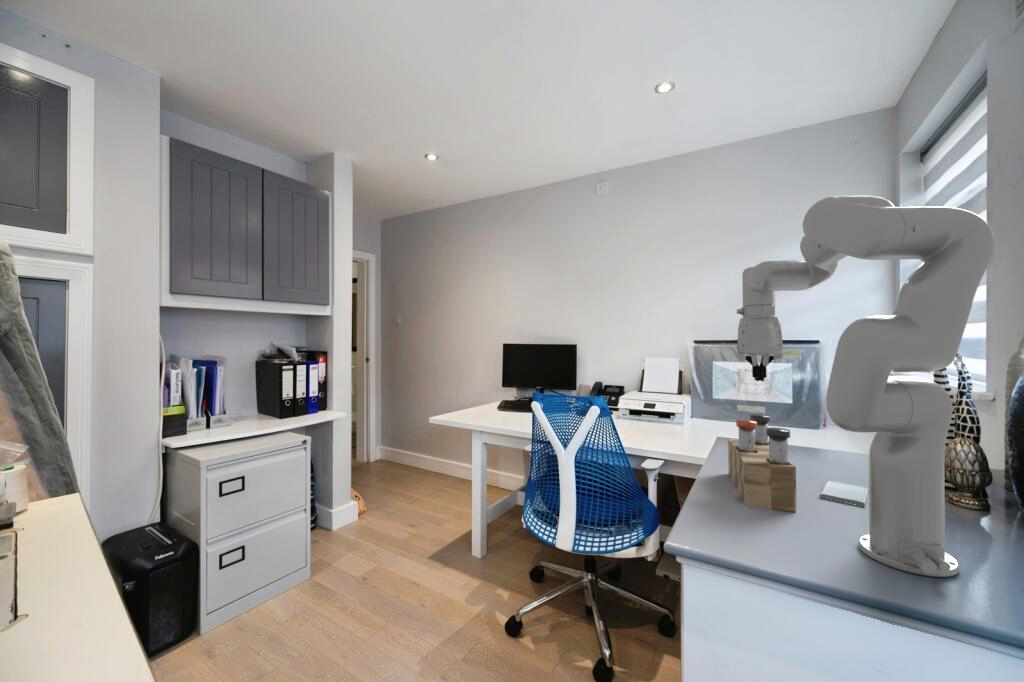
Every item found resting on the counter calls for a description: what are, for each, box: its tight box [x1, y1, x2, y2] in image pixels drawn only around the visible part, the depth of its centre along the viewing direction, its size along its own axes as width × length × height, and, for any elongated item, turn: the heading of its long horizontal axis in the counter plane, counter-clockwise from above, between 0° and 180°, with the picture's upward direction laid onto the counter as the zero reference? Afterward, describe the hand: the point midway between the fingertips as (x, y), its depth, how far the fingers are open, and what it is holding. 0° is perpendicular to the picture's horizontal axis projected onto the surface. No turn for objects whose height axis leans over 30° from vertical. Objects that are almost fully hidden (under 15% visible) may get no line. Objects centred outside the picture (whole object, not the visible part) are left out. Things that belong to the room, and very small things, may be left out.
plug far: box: [749, 413, 771, 445], centre depth 112 cm, size 5×5×12 cm
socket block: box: [727, 438, 797, 513], centre depth 104 cm, size 24×10×10 cm, turn 160°
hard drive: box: [819, 480, 869, 508], centre depth 100 cm, size 2×8×12 cm
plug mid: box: [735, 418, 757, 453], centre depth 105 cm, size 5×5×12 cm
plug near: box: [766, 427, 791, 465], centre depth 95 cm, size 5×5×12 cm
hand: (759, 380), depth 112 cm, fingers closed
